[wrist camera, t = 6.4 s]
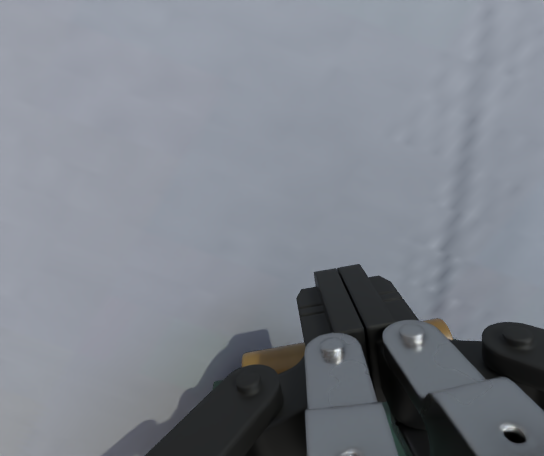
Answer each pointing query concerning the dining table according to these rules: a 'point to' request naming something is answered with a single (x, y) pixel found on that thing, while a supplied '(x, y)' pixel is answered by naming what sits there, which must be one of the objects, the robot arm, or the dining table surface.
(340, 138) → the dining table surface
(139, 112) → the dining table surface
